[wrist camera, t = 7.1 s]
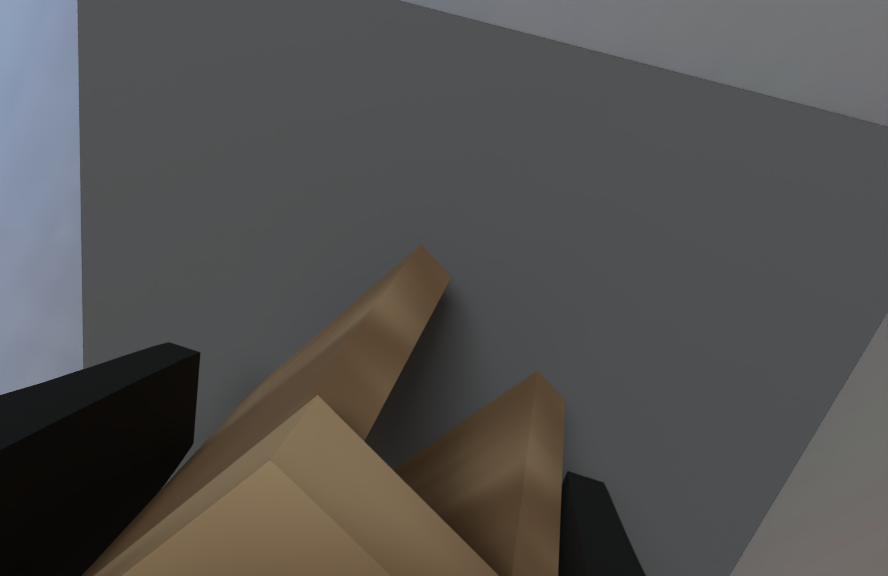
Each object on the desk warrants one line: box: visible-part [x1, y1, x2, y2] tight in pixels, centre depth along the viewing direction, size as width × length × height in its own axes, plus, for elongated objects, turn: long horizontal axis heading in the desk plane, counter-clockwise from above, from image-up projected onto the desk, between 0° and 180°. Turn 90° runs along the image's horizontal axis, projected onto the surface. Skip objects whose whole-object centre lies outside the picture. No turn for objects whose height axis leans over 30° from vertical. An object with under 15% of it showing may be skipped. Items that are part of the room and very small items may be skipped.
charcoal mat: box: [78, 0, 888, 576], centre depth 14 cm, size 16×14×1 cm
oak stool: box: [82, 244, 565, 576], centre depth 9 cm, size 4×6×6 cm, turn 133°
